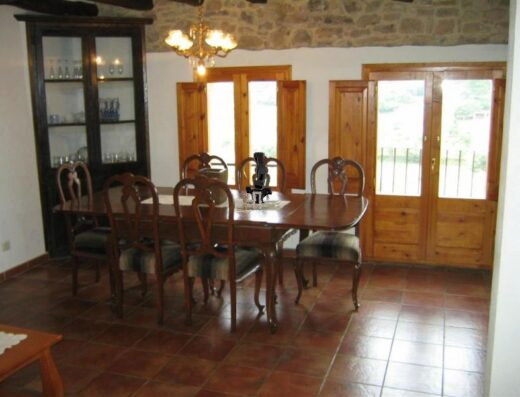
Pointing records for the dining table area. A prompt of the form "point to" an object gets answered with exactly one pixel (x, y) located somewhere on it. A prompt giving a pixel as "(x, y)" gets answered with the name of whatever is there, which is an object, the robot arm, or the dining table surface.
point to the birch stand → (244, 205)
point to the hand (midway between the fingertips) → (256, 200)
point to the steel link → (254, 200)
